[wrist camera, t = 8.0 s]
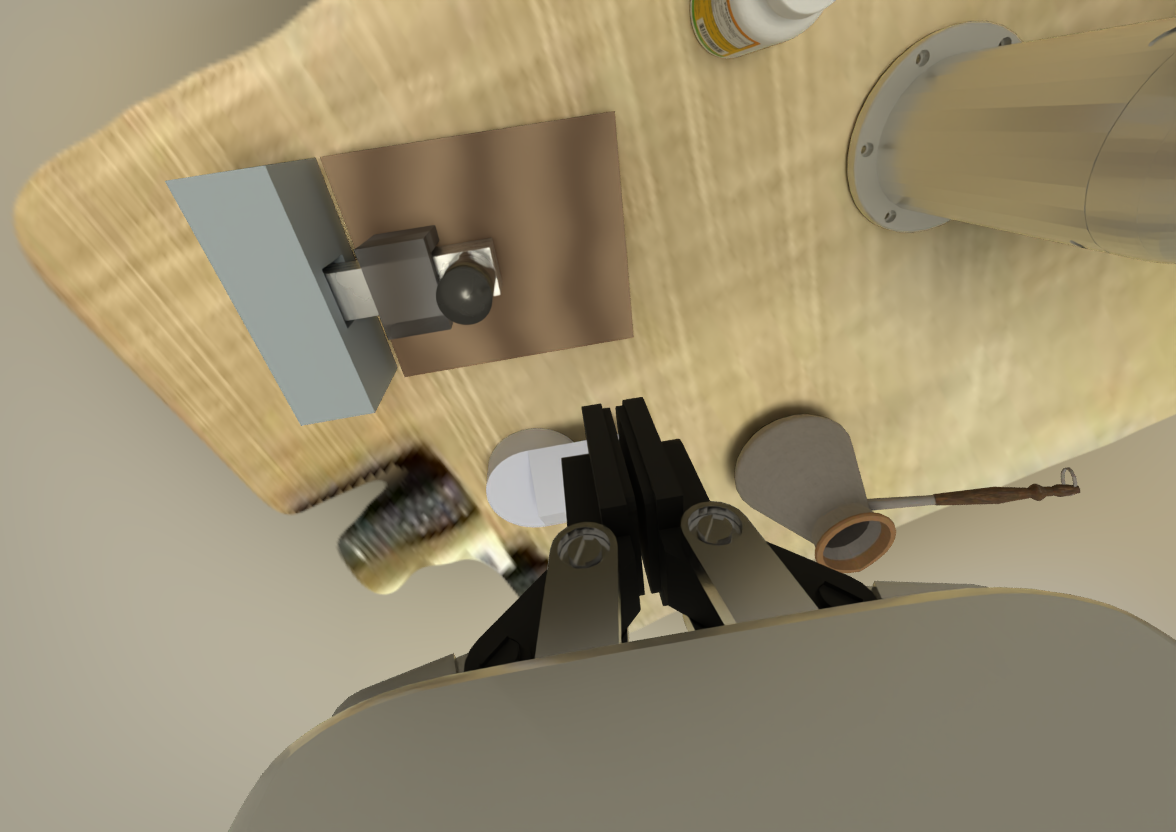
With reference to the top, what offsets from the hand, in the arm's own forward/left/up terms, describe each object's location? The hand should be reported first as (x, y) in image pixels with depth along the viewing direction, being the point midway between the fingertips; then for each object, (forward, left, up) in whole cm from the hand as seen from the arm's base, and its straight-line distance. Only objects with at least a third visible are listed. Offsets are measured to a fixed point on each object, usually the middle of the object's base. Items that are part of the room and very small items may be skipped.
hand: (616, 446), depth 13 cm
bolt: (+10, 0, -23) cm, 25 cm away
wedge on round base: (+3, +20, -26) cm, 33 cm away
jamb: (+17, 0, -25) cm, 30 cm away
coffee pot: (-24, +22, -26) cm, 41 cm away
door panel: (+4, 0, -25) cm, 26 cm away
